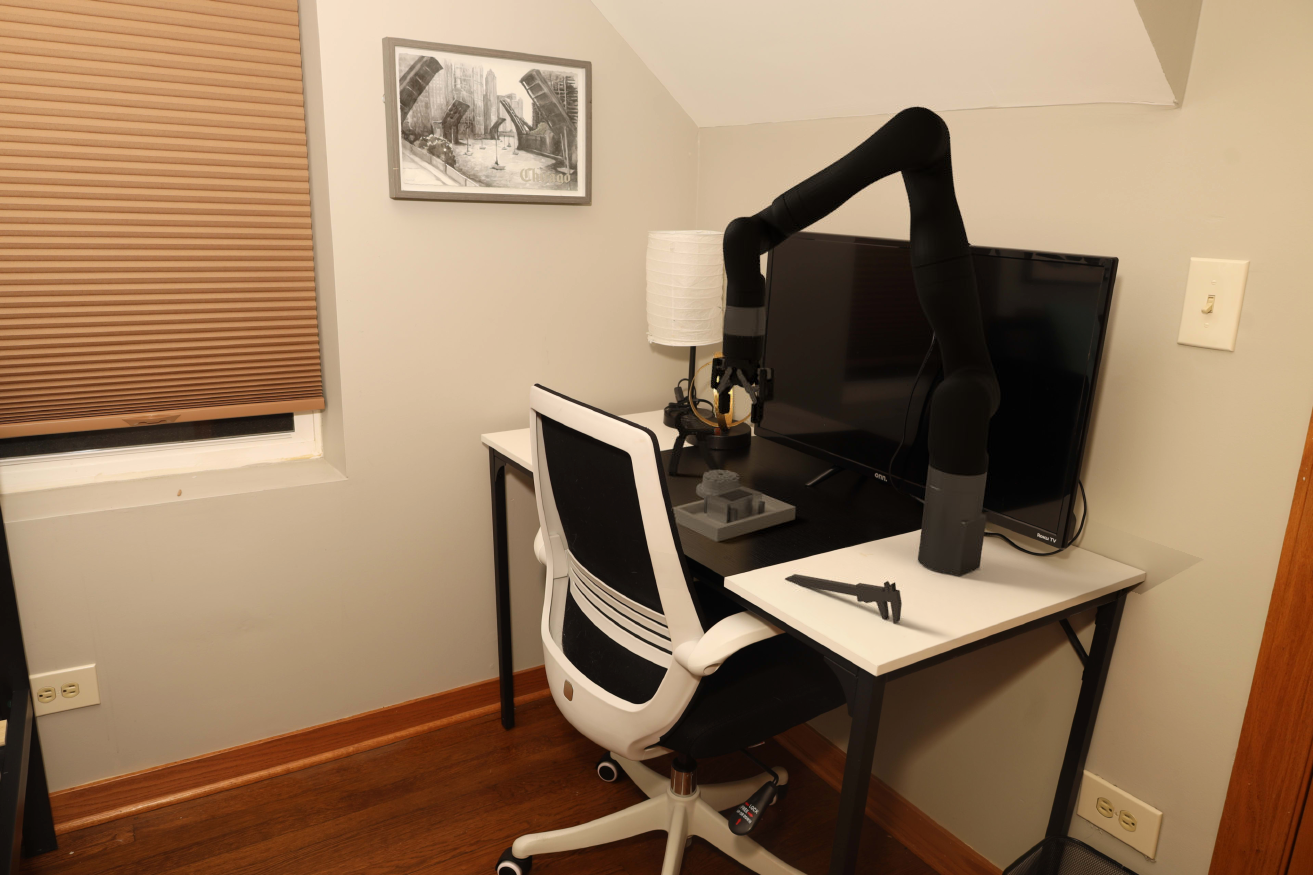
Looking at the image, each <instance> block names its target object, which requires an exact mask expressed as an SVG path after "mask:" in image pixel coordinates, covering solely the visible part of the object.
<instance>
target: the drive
mask: <svg viewBox="0 0 1313 875" xmlns="http://www.w3.org/2000/svg"><path fill="white" fill-rule="evenodd" d="M762 494H763V492H760V491H757V490H755V489H751V488H748V487H746V486H743V485H742V487H739V488H736V489H733V490H729V491H726V492H723V493H720V494H716V495H713V496H710V497H708V498H707V518H710V519H713V520H715V521H718V522H720V523H723V524H727V523H731V509H732V508H736V509H738V518H737V521H738V520H741V519H744V518H747V517H750V516H753V515H756V514H758V505H759V501H762Z"/></svg>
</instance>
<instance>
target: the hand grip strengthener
mask: <svg viewBox="0 0 1313 875" xmlns="http://www.w3.org/2000/svg"><path fill="white" fill-rule="evenodd" d="M686 415H687V417H686V418H687V419H688V421H689V422H690V423H691V424H692V425H693V427H694V428H687V427H685V426H684V425H683V423H682V417H683V416H686ZM674 427H675V429H676V430H677V432H678V435H677V436H676V438H675V440H674V443H673V446H672V449H671V454H670V457H669V462H668V465H667V466H668V467H667V472H668V476H672V475H675V476H674V477H676V476H677V475H678V470H679V469H678V468H679V463H680V459H681V457H682V453H683V452H682V451H683V449H684V446H685V442H686V440H687V437H688V436H695V438H696V441H697V445H698V449H699V452H700V454H701V456H702V458H703V460H704V462H705V464H706V465H707V466H708V468H709V470H724V469H723V467H721V465H719V463H718V462H717V460H716V459H715V457H714V456H713V454H712V452H711V450H710V447H709V444H708V442H709V441H708V438H706V437H711V436H713V437H714V436H715V437H717V436H719V437H720V436H721V435H722V433H721V427H714V428H702V426H700V424H699V423H698V422H697V421H696V419H695V418H694V416H692V414H691V413H690V410H689V409H687V408H686V409H681V410H679V411H678V413H677V414H676V416H675V417H674ZM698 428H699V429H698Z"/></svg>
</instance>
